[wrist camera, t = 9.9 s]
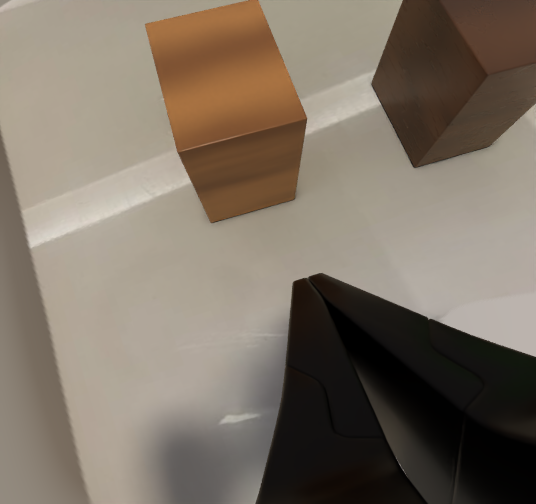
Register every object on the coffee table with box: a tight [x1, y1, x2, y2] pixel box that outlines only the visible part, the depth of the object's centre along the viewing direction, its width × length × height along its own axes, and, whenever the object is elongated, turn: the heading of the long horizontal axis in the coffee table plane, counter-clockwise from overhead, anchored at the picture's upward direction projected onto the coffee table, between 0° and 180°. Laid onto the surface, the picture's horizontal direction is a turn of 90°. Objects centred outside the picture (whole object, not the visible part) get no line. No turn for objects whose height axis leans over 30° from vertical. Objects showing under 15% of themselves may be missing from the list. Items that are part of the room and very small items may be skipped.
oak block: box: [145, 0, 307, 223], centre depth 19 cm, size 8×6×8 cm
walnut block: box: [372, 0, 536, 167], centre depth 20 cm, size 8×6×8 cm
